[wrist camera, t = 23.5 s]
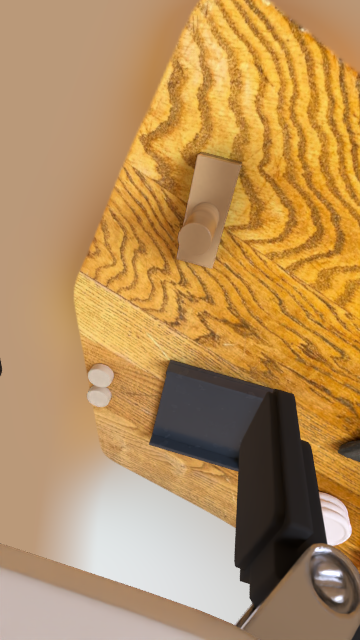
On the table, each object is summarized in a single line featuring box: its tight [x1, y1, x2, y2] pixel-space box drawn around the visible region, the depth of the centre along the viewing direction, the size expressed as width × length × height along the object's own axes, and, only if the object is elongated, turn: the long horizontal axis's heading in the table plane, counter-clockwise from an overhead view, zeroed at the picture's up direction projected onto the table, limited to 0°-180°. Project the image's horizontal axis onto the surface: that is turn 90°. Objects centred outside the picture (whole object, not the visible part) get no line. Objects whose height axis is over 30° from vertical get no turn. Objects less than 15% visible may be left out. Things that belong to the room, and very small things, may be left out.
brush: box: [176, 152, 242, 269], centre depth 26 cm, size 4×9×8 cm, turn 169°
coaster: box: [319, 492, 351, 546], centre depth 49 cm, size 10×10×4 cm
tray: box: [149, 360, 274, 471], centre depth 43 cm, size 14×15×2 cm
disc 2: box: [87, 385, 111, 407], centre depth 45 cm, size 3×3×1 cm
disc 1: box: [88, 364, 114, 388], centre depth 43 cm, size 3×3×1 cm
